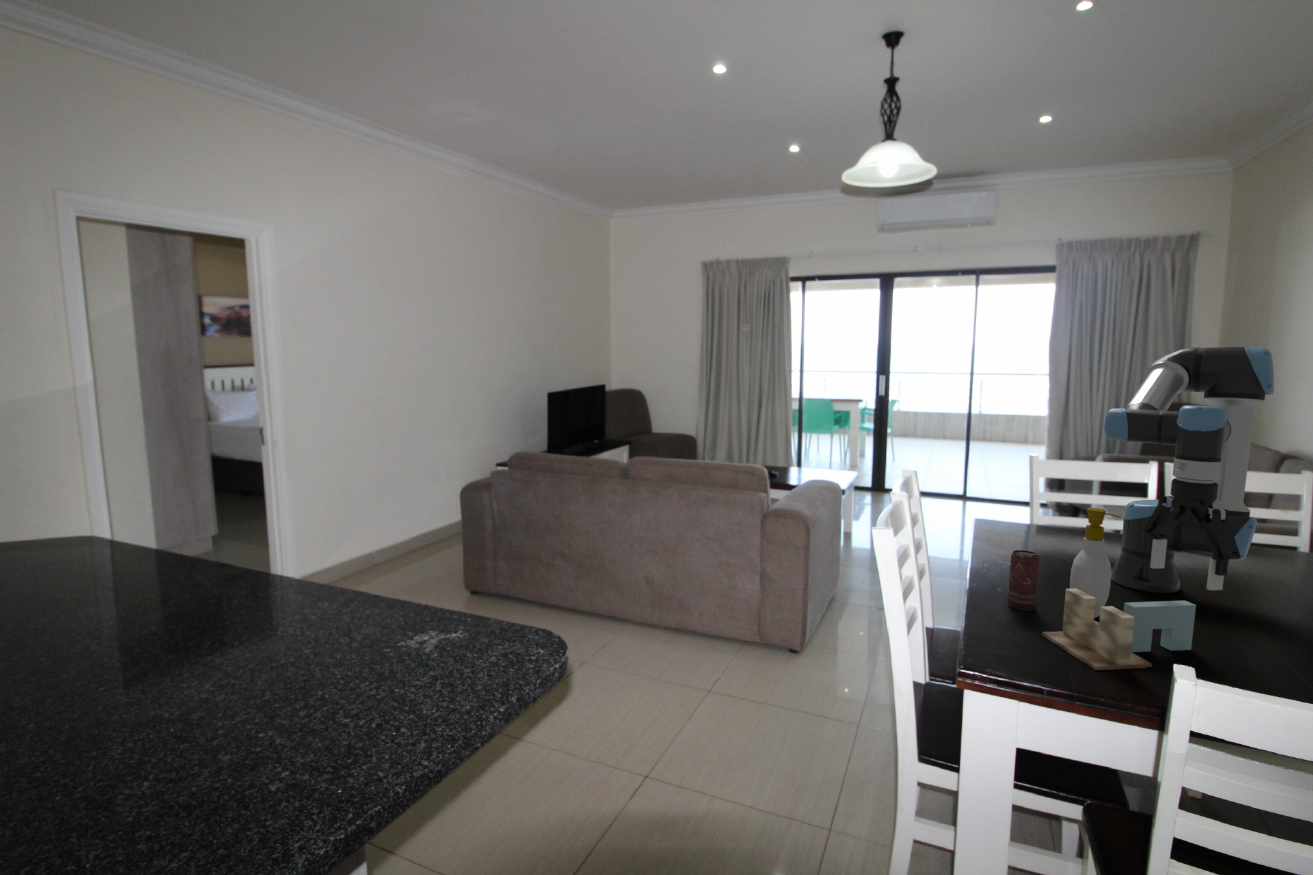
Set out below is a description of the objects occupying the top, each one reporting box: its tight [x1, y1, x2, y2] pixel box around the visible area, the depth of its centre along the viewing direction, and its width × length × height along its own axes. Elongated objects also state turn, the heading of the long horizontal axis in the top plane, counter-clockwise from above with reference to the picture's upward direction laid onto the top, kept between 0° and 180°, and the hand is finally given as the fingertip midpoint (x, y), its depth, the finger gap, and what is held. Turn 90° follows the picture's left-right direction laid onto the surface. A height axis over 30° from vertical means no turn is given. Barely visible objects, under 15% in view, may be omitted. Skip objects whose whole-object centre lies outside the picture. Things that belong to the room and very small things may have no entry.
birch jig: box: [1041, 588, 1153, 671], centre depth 136 cm, size 16×12×11 cm
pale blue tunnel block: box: [1123, 600, 1197, 653], centre depth 137 cm, size 14×2×10 cm, turn 94°
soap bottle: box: [1069, 507, 1122, 619], centre depth 155 cm, size 14×9×26 cm, turn 140°
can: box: [1007, 549, 1041, 612], centre depth 160 cm, size 6×6×14 cm
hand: (1184, 578), depth 136 cm, fingers open, 13 cm apart
